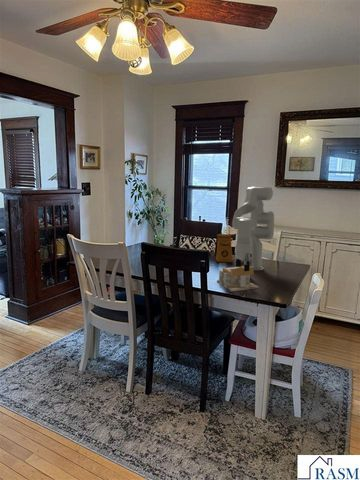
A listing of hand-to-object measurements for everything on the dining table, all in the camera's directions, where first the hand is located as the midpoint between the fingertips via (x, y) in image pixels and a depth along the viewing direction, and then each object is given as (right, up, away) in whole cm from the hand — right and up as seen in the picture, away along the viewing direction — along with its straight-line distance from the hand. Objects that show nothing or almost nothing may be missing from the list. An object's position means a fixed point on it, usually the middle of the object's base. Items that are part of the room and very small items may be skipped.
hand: (242, 268), depth 195 cm
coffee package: (-2, 0, +64) cm, 65 cm away
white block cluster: (-2, -11, +7) cm, 13 cm away
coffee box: (+5, -7, +25) cm, 27 cm away
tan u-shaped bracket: (-2, -3, +6) cm, 7 cm away
